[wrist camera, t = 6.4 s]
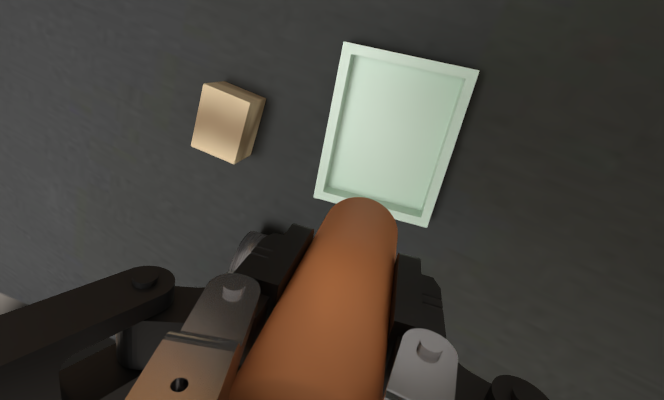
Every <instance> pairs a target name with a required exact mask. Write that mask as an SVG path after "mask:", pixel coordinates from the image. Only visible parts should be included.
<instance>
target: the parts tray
mask: <svg viewBox="0 0 664 400" xmlns="http://www.w3.org/2000/svg"><path fill="white" fill-rule="evenodd" d="M478 74H479V70H474V69H470V68H465V67H460V66H456V65H451V64H446V63H442V62H437V61H432V60H428V59H423V58H418V57H414V56H409V55H404V54H400V53H395V52H390V51H386V50H381V49H376V48H372V47H367V46H362V45H358V44H353V43H348V42H343V47H342V53H341V58H340V63H339V68H338V73H337V78H336V84H335V89H334V94H333V99H332V104H331V109H330V114H329V120H328V125H327V130H326V135H325V140H324V145H323V151H322V156H321V161H320V166H319V171H318V176H317V182H316V187H315V192H314V198H318V199H322V200H325V201H329V202H333V203H336V204H337V203H338V202H340V201H342V200H344V199H347V198H352V197H364V198H369V199H372V200H375V201H377V202H379V203H380V204H382V205H383V206H384V207H386V208H387V209H388V210H389V211H390V213H391V214H392V216H393V217H394V219H396V220H400V221H404V222H407V223H411V224H415V225H418V226H422V227H426V228H427V226H428V223H429V220H430V217H431V214H432V211H433V208H434V205H435V202H436V199H437V196H438V193H439V190H440V187H441V185H442V182H443V179H444V176H445V173H446V170H447V167H448V164H449V161H450V158H451V155H452V152H453V149H454V146H455V143H456V140H457V137H458V134H459V131H460V128H461V125H462V122H463V119H464V116H465V113H466V110H467V107H468V104H469V101H470V98H471V95H472V92H473V89H474V86H475V83H476V80H477V77H478Z"/></svg>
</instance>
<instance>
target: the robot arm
mask: <svg viewBox="0 0 664 400" xmlns="http://www.w3.org/2000/svg"><path fill="white" fill-rule="evenodd" d="M313 234H314V229H312V228H308V227H305V226H301V225H297V224H294V223H293V224H292V225H291V227H290V228H289V229H288V231H287V232H286V233H285V235H281V234H277V233H273V234H271V235H268V236H266V237H264V238H262V240H261V241H260V242H259V243H258V244H257V246H256V247H255V248H254V249H253V250H252V251H251V254H249V255H248V256H247V257H246V258H245V260H244V261H243V262H242V263H241V264H240V265H239V267H238V268H237V269H236V270H235V271H234V273H227V274H222V275H219V276H217V277H215V278H213V279H212V280H211V281H209V283H208V284H207V286H206V287H205V288H193V287H179V286H175V277H174V275H173V274H172V273H171V272H170V271H169V270H167V269H164V268H161V267H157V266H141V267H135V268H132V269H129V270H126V271H123V272H120V273H118V274H115V275H112V276H109V277H106V278H104V279H101V280H98V281H95V282H92V283H89V284H87V285H84V286H81V287H78V288H75V289H73V290H70V291H67V292H64V293H61V294H59V295H56V296H53V297H50V298H47V299H44V300H42V301H39V302H36V303H33V304H30V305H28V306H25V307H22V308H19V309H16V310H14V311H11V312H8V313H5V314H2V315H0V400H229V394H230V390H231V388H232V385H233V383H234V381H235V378H236V375H237V373H238V371H239V369H240V368H241V366H242V364H243V362H244V360H245V359H246V357H247V355H248V353H249V352H250V350H251V348H252V346H253V345H254V343H255V341H256V339H257V337H258V336H259V334H260V332H261V330H262V329H263V327H264V325H265V323H266V322H267V320H268V318H269V316H270V314H271V313H272V311H273V309H274V308H275V306H276V304H277V302H278V301H279V299H280V297H281V295H282V294H283V292H284V290H285V288H286V286H287V285H288V283H289V281H290V279H291V278H292V276H293V274H294V272H295V270H296V269H297V267H298V265H299V263H300V262H301V260H302V258H303V256H304V255H305V253H306V251H307V249H308V247H309V246H310V244H311V242H312V239H313ZM441 299H442V298H441V289H440V287H439V286H438V284H437V283H436V281H435V280H434V278H433V277H429V276H426V275H422V274H421V259H419V258H416V257H412V256H409V255H405V254H401V253H398V255H397V258H396V261H395V265H394V275H393V286H392V296H391V307H390V317H389V328H388V338H387V355H386V365H385V376H384V387H383V397H382V400H549V399H548V398H547V397H546V396H545V395H544V394H543V393H542V392H541V391H540V390H539V389H538V388H536V387H535V386H534V385H532V384H531V383H529V382H527V381H525V380H523V379H521V378H518V377H515V376H511V375H501V376H498V377H496V378H495V379H494V380H493V382H492V384H491V383H489V382H487V381H485V380H483V379H482V378H480V377H478V376H476V375H475V374H473V373H471V372H470V371H468V370H467V369H465V368H464V367H463V366H462V365H460V364H459V363H458V355H457V352H456V350H455V349H454V347H453V346H452V345H451V343H450V342H449V341H447V340H446V332H445V324H444V315H443V310H442V308H443V306H442V301H441ZM115 334H116V343H115V344H113V345H111V346H109V347H107V348H105V349H103V350H101V351H99V352H97V353H95V354H93V355H91V356H89V357H87V358H85V359H83V360H81V361H79V362H77V363H75V364H73V365H71V366H69V367H67V368H65V369H63V370H61V371H59V370H60V368H61V366H62V365H63V363H64V362H65V361H66V360H67V359H68V358H69V357H71V356H72V355H73V354H75V353H77V352H79V351H81V350H83V349H85V348H87V347H89V346H92V345H94V344H96V343H98V342H100V341H102V340H104V339H106V338H108V337H110V336H113V335H115Z"/></svg>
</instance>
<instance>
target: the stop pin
mask: <svg viewBox="0 0 664 400" xmlns="http://www.w3.org/2000/svg"><path fill="white" fill-rule="evenodd" d="M397 236H398V230H397V225H396V222H395V219H394V217H393V216H392V214H391V213H390V211H389V210H388V209H387V208H386V207H384V206H383V205H382V204H380V203H379V202H377V201H375V200H372V199H369V198H364V197H352V198H347V199H344V200H342V201H340V202H338V203H337V204H336V205H334V206H333V207H332V208H331V209H330V211H329V212H328V214H327V215H326V217H325V219H324V221H323V223H322V224H321V226H320V228H319V230H318V231H317V233H316V235H315V237H314V238H313V240H312V242H311V244H310V246H309V247H308V249H307V251H306V253H305V255H304V256H303V258H302V260H301V262H300V263H299V265H298V267H297V269H296V270H295V272H294V274H293V276H292V278H291V279H290V281H289V283H288V285H287V286H286V288H285V290H284V292H283V294H282V295H281V297H280V299H279V301H278V302H277V304H276V306H275V308H274V309H273V311H272V313H271V314H270V316H269V318H268V320H267V322H266V323H265V325H264V327H263V329H262V330H261V332H260V334H259V336H258V337H257V339H256V341H255V343H254V345H253V346H252V348H251V350H250V352H249V353H248V355H247V357H246V359H245V360H244V362H243V364H242V366H241V368H240V369H239V371H238V373H237V375H236V378H235V381H234V383H233V385H232V388H231V390H230V394H229V400H382V397H383V387H384V376H385V365H386V355H387V338H388V328H389V317H390V307H391V296H392V286H393V275H394V265H395V258H396V247H397Z"/></svg>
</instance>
